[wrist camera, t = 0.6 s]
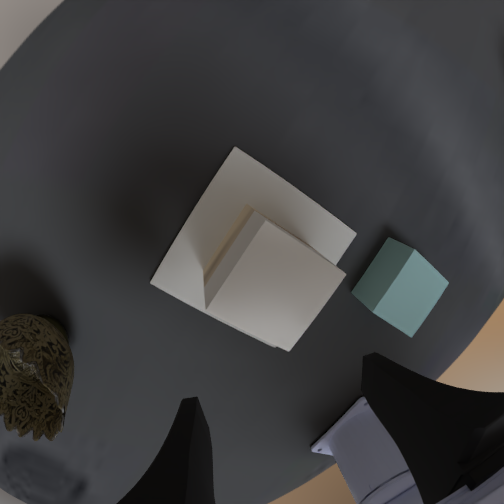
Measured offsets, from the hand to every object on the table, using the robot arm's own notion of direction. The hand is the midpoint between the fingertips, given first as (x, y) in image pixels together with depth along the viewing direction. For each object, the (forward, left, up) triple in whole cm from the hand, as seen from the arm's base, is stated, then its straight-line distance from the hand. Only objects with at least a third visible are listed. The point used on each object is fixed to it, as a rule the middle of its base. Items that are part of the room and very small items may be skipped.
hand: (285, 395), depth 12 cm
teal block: (-9, -7, -10) cm, 15 cm away
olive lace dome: (+11, +10, -10) cm, 18 cm away
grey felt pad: (+1, -3, -10) cm, 10 cm away
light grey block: (+1, -3, -7) cm, 7 cm away
